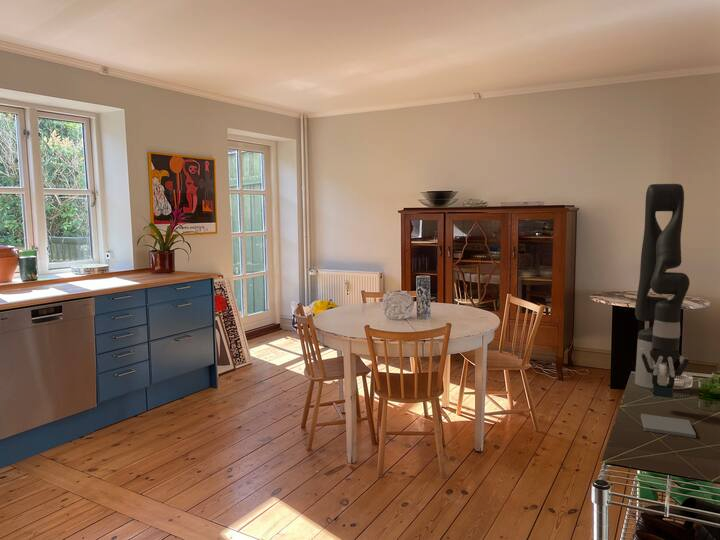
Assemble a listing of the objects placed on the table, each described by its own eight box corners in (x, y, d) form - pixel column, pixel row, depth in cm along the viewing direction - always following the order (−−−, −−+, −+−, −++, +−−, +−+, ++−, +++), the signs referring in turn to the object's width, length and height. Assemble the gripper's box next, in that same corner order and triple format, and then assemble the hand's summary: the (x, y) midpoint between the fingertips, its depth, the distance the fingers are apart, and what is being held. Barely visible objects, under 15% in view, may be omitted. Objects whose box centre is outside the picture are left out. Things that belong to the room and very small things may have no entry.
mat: (640, 416, 170) (640, 413, 170) (688, 423, 165) (688, 420, 165) (644, 430, 159) (644, 427, 159) (695, 438, 154) (696, 434, 154)
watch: (673, 392, 177) (673, 359, 176) (672, 399, 170) (672, 365, 169) (654, 390, 180) (653, 357, 179) (652, 397, 173) (651, 363, 172)
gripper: (689, 333, 174) (685, 385, 176) (640, 329, 179) (637, 380, 181) (693, 339, 167) (689, 393, 169) (642, 334, 172) (638, 387, 174)
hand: (662, 386), depth 175 cm, fingers closed on watch, 3 cm apart
